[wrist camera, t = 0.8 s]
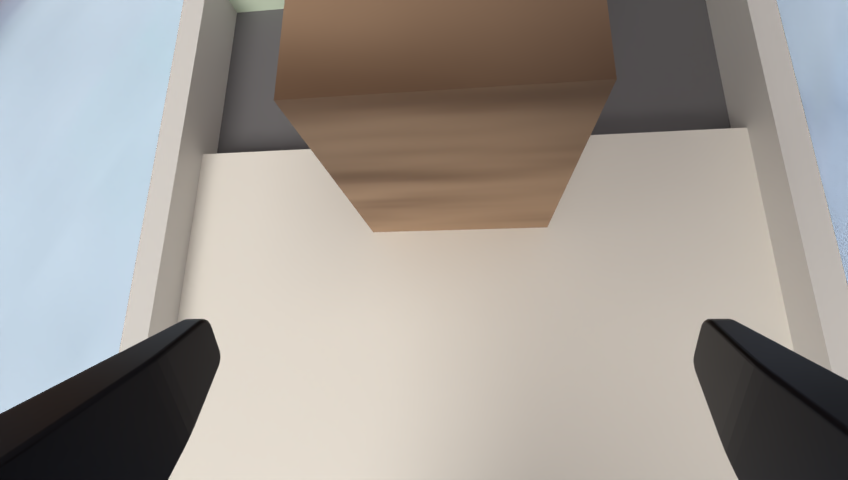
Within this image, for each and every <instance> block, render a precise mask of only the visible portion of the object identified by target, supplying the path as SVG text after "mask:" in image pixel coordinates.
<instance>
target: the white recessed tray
mask: <svg viewBox="0 0 848 480" xmlns="http://www.w3.org/2000/svg"><path fill="white" fill-rule="evenodd" d="M284 2H285V0H184V2H183V7H182V12H181V18H180V23H179V29H178V34H177V40H176V45H175V51H174V56H173V61H172V67H171V72H170V78H169V83H168V89H167V94H166V99H165V105H164V110H163V116H162V121H161V127H160V132H159V138H158V143H157V148H156V154H155V159H154V165H153V170H152V176H151V181H150V186H149V192H148V197H147V203H146V208H145V214H144V219H143V225H142V230H141V235H140V241H139V246H138V252H137V257H136V263H135V268H134V274H133V279H132V284H131V290H130V295H129V301H128V306H127V312H126V317H125V322H124V328H123V333H122V339H121V344H120V350H119V353H120V352H122V351H124V350H126V349H128V348H129V347H131V346H133V345H135V344H137V343H139V342H141V341H143V340H145V339H147V338H149V337H151V336H153V335H155V334H157V333H159V332H161V331H163V330H165V329H166V328H168V327H170V326H172V325H174V324H176V323H178V322H180V321H182V320H184V319H205V320H207V321H209V323H210V324H211V327H212V329H213V332H214V335H215V338H216V341H217V344H218V347H219V350H220V356H221V357H220V364H219V367H218V369H217V372H216V374H215V377H214V379H213V382H212V384H211V387H210V389H209V392H208V394H207V397H206V399H205V402H204V405H203V407H202V410H201V412H200V415H199V417H198V420H197V422H196V425H195V427H194V429H193V431H192V434H191V436H190V438H189V440H188V442H187V444H186V446H185V448H184V450H183V452H182V454H181V456H180V458H179V460H178V462H177V464H176V466H175V468H174V470H173V472H172V473H171V475H170V477H169V479H168V480H738V478H737V476H736V474H735V472H734V470H733V468H732V466H731V464H730V461H729V459H728V457H727V455H726V453H725V450H724V448H723V445H722V443H721V440H720V438H719V435H718V432H717V429H716V427H715V424H714V421H713V419H712V416H711V413H710V410H709V408H708V405H707V402H706V399H705V397H704V394H703V391H702V388H701V386H700V383H699V380H698V377H697V375H696V372H695V369H694V362H693V359H694V353H695V349H696V345H697V341H698V337H699V333H700V329H701V325H702V323H703V322H704V321H705V320H707V319H733V320H735V321H737V322H739V323H741V324H743V325H744V326H746V327H748V328H750V329H752V330H754V331H756V332H758V333H760V334H762V335H763V336H765V337H767V338H769V339H771V340H773V341H775V342H777V343H779V344H780V345H782V346H784V347H786V348H788V349H790V350H792V351H794V352H796V353H797V354H799V355H801V356H803V357H805V358H807V359H809V360H811V361H813V362H815V363H816V364H818V365H820V366H822V367H824V368H826V369H828V370H830V371H832V372H833V373H835V374H837V375H839V376H841V377H843V378H845V379H847V380H848V285H847V281H846V277H845V273H844V269H843V265H842V261H841V257H840V253H839V249H838V245H837V241H836V237H835V233H834V229H833V225H832V221H831V217H830V213H829V209H828V205H827V201H826V197H825V193H824V189H823V185H822V181H821V177H820V173H819V169H818V165H817V161H816V157H815V153H814V149H813V145H812V141H811V137H810V133H809V129H808V125H807V121H806V117H805V113H804V109H803V105H802V101H801V97H800V93H799V89H798V85H797V81H796V77H795V73H794V69H793V65H792V61H791V57H790V53H789V49H788V45H787V41H786V37H785V33H784V29H783V25H782V21H781V17H780V13H779V9H778V5H777V1H776V0H607V5H608V13H609V21H610V28H611V36H612V44H613V52H614V60H615V68H616V76H617V80H616V82H615V84H614V86H613V88H612V90H611V93H610V95H609V97H608V99H607V101H606V103H605V105H604V108H603V110H602V112H601V114H600V116H599V118H598V120H597V122H596V125H595V127H594V129H593V131H592V133H591V135H590V137H589V140H588V142H587V144H586V146H585V148H584V150H583V152H582V154H581V157H580V159H579V161H578V163H577V165H576V167H575V169H574V171H573V174H572V176H571V178H570V180H569V182H568V184H567V186H566V189H565V191H564V193H563V195H562V197H561V199H560V201H559V203H558V206H557V208H556V210H555V212H554V214H553V216H552V218H551V221H550V223H549V225H548V227H544V228H508V229H472V230H436V231H400V232H373V231H372V230H371V229H370V227H369V226H368V225H367V223H366V222H365V221H364V219H363V218H362V217H361V215H360V214H359V213H358V211H357V210H356V209H355V207H354V206H353V205H352V203H351V202H350V201H349V199H348V198H347V197H346V195H345V194H344V193H343V191H342V190H341V189H340V188H339V186H338V185H337V184H336V182H335V181H334V180H333V178H332V177H331V176H330V174H329V173H328V172H327V170H326V169H325V168H324V166H323V165H322V164H321V162H320V161H319V160H318V158H317V157H316V156H315V154H314V153H313V152H312V150H311V149H310V148H309V146H308V145H307V144H306V142H305V141H304V140H303V138H302V137H301V136H300V135H299V133H298V132H297V131H296V129H295V128H294V127H293V125H292V124H291V123H290V121H289V120H288V119H287V117H286V116H285V115H284V113H283V112H282V111H281V109H280V108H279V107H278V105H277V104H276V103H275V101H274V93H275V84H276V75H277V65H278V56H279V47H280V38H281V29H282V20H283V11H284Z"/></svg>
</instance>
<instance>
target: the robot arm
mask: <svg viewBox="0 0 848 480" xmlns="http://www.w3.org/2000/svg"><path fill="white" fill-rule="evenodd" d="M220 357H221V356H220V350H219V347H218V344H217V341H216V338H215V335H214V332H213V329H212V327H211V324H210V323H209V321H207V320H205V319H184V320H182V321H180V322H178V323H176V324H174V325H172V326H170V327H168V328H166V329H165V330H163V331H161V332H159V333H157V334H155V335H153V336H151V337H149V338H147V339H145V340H143V341H141V342H139V343H137V344H135V345H133V346H131V347H129V348H128V349H126V350H124V351H122V352H120V353H118V354H116V355H114V356H112V357H110V358H108V359H106V360H104V361H102V362H100V363H98V364H96V365H94V366H93V367H91V368H89V369H87V370H85V371H83V372H81V373H79V374H77V375H75V376H73V377H71V378H69V379H67V380H65V381H63V382H61V383H59V384H58V385H56V386H54V387H52V388H50V389H48V390H46V391H44V392H42V393H40V394H38V395H36V396H34V397H32V398H30V399H28V400H26V401H24V402H22V403H21V404H19V405H17V406H15V407H13V408H11V409H9V410H7V411H5V412H3V413H1V414H0V480H168V479H169V477H170V475H171V473H172V472H173V470H174V468H175V466H176V464H177V462H178V460H179V458H180V456H181V454H182V452H183V450H184V448H185V446H186V444H187V442H188V440H189V438H190V436H191V434H192V431H193V429H194V427H195V425H196V422H197V420H198V417H199V415H200V412H201V410H202V407H203V405H204V402H205V399H206V397H207V394H208V392H209V389H210V387H211V384H212V382H213V379H214V377H215V374H216V372H217V369H218V367H219V364H220ZM693 362H694V369H695V372H696V375H697V377H698V380H699V383H700V386H701V388H702V391H703V394H704V397H705V399H706V402H707V405H708V408H709V410H710V413H711V416H712V419H713V421H714V424H715V427H716V429H717V432H718V435H719V438H720V440H721V443H722V445H723V448H724V450H725V453H726V455H727V457H728V459H729V461H730V464H731V466H732V468H733V470H734V472H735V474H736V476H737V478H738V480H848V380H847V379H845V378H843V377H841V376H839V375H837V374H835V373H833V372H832V371H830V370H828V369H826V368H824V367H822V366H820V365H818V364H816V363H815V362H813V361H811V360H809V359H807V358H805V357H803V356H801V355H799V354H797V353H796V352H794V351H792V350H790V349H788V348H786V347H784V346H782V345H780V344H779V343H777V342H775V341H773V340H771V339H769V338H767V337H765V336H763V335H762V334H760V333H758V332H756V331H754V330H752V329H750V328H748V327H746V326H744V325H743V324H741V323H739V322H737V321H735V320H733V319H707V320H705V321H704V322H703V323H702V325H701V329H700V333H699V337H698V341H697V345H696V349H695V353H694V359H693Z"/></svg>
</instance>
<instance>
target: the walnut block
mask: <svg viewBox="0 0 848 480" xmlns="http://www.w3.org/2000/svg"><path fill="white" fill-rule="evenodd" d="M616 80H617V76H616V68H615V60H614V52H613V44H612V36H611V28H610V21H609V13H608V5H607V0H285V2H284V11H283V20H282V29H281V38H280V47H279V56H278V65H277V75H276V84H275V93H274V101H275V103H276V104H277V105H278V107H279V108H280V109H281V111H282V112H283V113H284V115H285V116H286V117H287V119H288V120H289V121H290V123H291V124H292V125H293V127H294V128H295V129H296V131H297V132H298V133H299V135H300V136H301V137H302V138H303V140H304V141H305V142H306V144H307V145H308V146H309V148H310V149H311V150H312V152H313V153H314V154H315V156H316V157H317V158H318V160H319V161H320V162H321V164H322V165H323V166H324V168H325V169H326V170H327V172H328V173H329V174H330V176H331V177H332V178H333V180H334V181H335V182H336V184H337V185H338V186H339V188H340V189H341V190H342V191H343V193H344V194H345V195H346V197H347V198H348V199H349V201H350V202H351V203H352V205H353V206H354V207H355V209H356V210H357V211H358V213H359V214H360V215H361V217H362V218H363V219H364V221H365V222H366V223H367V225H368V226H369V227H370V229H371V230H372V231H373V232H400V231H436V230H472V229H508V228H544V227H548V225H549V223H550V221H551V218H552V216H553V214H554V212H555V210H556V208H557V206H558V203H559V201H560V199H561V197H562V195H563V193H564V191H565V189H566V186H567V184H568V182H569V180H570V178H571V176H572V174H573V171H574V169H575V167H576V165H577V163H578V161H579V159H580V157H581V154H582V152H583V150H584V148H585V146H586V144H587V142H588V140H589V137H590V135H591V133H592V131H593V129H594V127H595V125H596V122H597V120H598V118H599V116H600V114H601V112H602V110H603V108H604V105H605V103H606V101H607V99H608V97H609V95H610V93H611V90H612V88H613V86H614V84H615V82H616Z"/></svg>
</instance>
